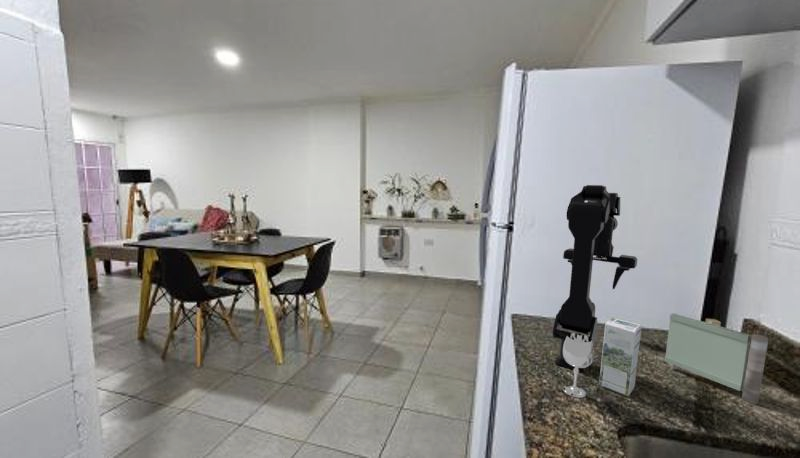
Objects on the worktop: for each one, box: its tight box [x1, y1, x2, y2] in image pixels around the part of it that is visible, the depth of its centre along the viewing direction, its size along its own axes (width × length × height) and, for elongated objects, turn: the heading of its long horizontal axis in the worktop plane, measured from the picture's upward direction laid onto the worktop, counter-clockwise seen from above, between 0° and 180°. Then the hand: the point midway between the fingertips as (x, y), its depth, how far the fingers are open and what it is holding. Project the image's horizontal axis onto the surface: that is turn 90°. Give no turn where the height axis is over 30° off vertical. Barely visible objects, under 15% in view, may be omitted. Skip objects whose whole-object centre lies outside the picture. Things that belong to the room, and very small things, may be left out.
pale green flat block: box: [664, 313, 752, 392], centre depth 79 cm, size 14×2×12 cm, turn 28°
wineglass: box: [562, 332, 595, 399], centre depth 73 cm, size 6×6×12 cm
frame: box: [704, 318, 769, 405], centre depth 79 cm, size 17×4×14 cm, turn 173°
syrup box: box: [598, 317, 642, 397], centre depth 75 cm, size 6×6×14 cm
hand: (596, 285), depth 106 cm, fingers open, 9 cm apart
